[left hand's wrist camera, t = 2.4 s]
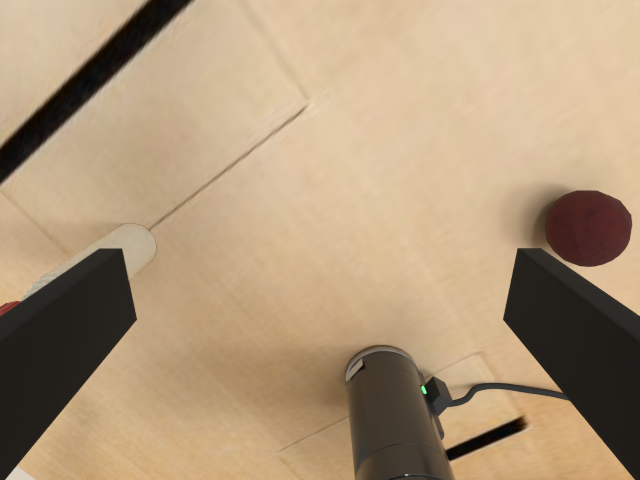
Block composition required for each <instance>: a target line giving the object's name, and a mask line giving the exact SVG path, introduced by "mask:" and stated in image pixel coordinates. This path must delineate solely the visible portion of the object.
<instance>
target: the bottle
mask: <svg viewBox="0 0 640 480" xmlns="http://www.w3.org/2000/svg"><path fill="white" fill-rule="evenodd" d="M99 248H122V249H123V254H124V259H125V264H126V269H127V274H128V278H129V280H130V279H131V278H132V277H133V276H134V275H135V274H137V273H138V272H139V271H140V270H141V269H142V268H143V267H144V266H145V265H146V264H147V263H148V262H149V261H150V260H151V259H152V258H153V257H154V255H155V253H156V242H155V239H154V237H153V235H152V234H151V233H150V232H149V231H148V230H147V229H146V228H144V227H142V226H140V225H137V224H130V223H129V224H124V225H121V226H119V227H118V228H116V229H115V230H113V231H111V232H110V233H108V234H107V235H105V236H104V237H102V238H101V239H99V240H98V241H96V242H94V243H93V244H91V245H90V246H88V247H87V248H85V249H84V250H82V251H80V252H79V253H77V254H76V255H74V256H73V257H71V258H70V259H68V260H66V261H65V262H63V263H62V264H60V265H59V266H57V267H56V268H54V269H53V270H51V271H49V272H48V273H46V274H45V275H43V276H42V277H41V278H40V279H39V280H38V281H36V282H35V283H34V284H33V285H32V287H31V288H30V289H29V290H28V291H27V293H26V294H25V295H24V296H23V297H22V299H21V301H23V300H25V299H26V298H27V297H29V296H30V295H32V294H33V293H35V292H36V291H38V290H39V289H41V288H42V287H44V286H45V285H46V284H48V283H49V282H51V281H52V280H54V279H55V278H57V277H58V276H60V275H61V274H62V273H64V272H65V271H67V270H68V269H70V268H71V267H73V266H74V265H76V264H77V263H79V262H80V261H81V260H83V259H84V258H86V257H87V256H89V255H90V254H92V253H93V252H95V251H96V250H98V249H99Z"/></svg>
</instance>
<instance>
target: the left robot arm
mask: <svg viewBox="0 0 640 480" xmlns="http://www.w3.org/2000/svg"><path fill="white" fill-rule="evenodd" d="M136 320H137V317H136V313H135V308H134V303H133V298H132V293H131V288H130V283H129V278H128V274H127V269H126V264H125V259H124V254H123V249H122V248H99V249H98V250H96V251H95V252H93V253H92V254H90V255H89V256H87V257H86V258H84V259H83V260H81V261H80V262H79V263H77V264H76V265H74V266H73V267H71V268H70V269H68V270H67V271H65V272H64V273H62V274H61V275H60V276H58V277H57V278H55V279H54V280H52V281H51V282H49V283H48V284H46V285H45V286H44V287H42V288H41V289H39V290H38V291H36V292H35V293H33V294H32V295H30V296H29V297H27V298H26V299H25V300H23V301H22V302H20V303H19V304H17V305H16V306H14V307H13V308H11V309H10V310H8V311H7V312H6V313H4V314H3V315H1V316H0V480H5V479H6V478H7V477H8V476H9V474H10V473H11V472H12V471H13V469H14V468H15V467H16V466H17V465H18V463H19V462H20V461H21V460H22V459H23V457H24V456H25V455H26V454H27V452H28V451H29V450H30V449H31V448H32V446H33V445H34V444H35V443H36V442H37V440H38V439H39V438H40V437H41V435H42V434H43V433H44V432H45V431H46V429H47V428H48V427H49V426H50V425H51V423H52V422H53V421H54V420H55V418H56V417H57V416H58V415H59V414H60V412H61V411H62V410H63V409H64V408H65V406H66V405H67V404H68V403H69V401H70V400H71V399H72V398H73V397H74V395H75V394H76V393H77V392H78V391H79V389H80V388H81V387H82V386H83V384H84V383H85V382H86V381H87V380H88V378H89V377H90V376H91V375H92V373H93V372H94V371H95V370H96V369H97V367H98V366H99V365H100V364H101V363H102V361H103V360H104V359H105V358H106V356H107V355H108V354H109V353H110V352H111V350H112V349H113V348H114V347H115V346H116V344H117V343H118V342H119V341H120V339H121V338H122V337H123V336H124V335H125V333H126V332H127V331H128V330H129V329H130V327H131V326H132V325H133V324H134V322H135V321H136ZM503 320H504V321H505V322H506V324H507V325H508V326H509V327H510V329H511V330H512V331H513V332H514V333H515V335H516V336H517V337H518V338H519V339H520V341H521V342H522V343H523V344H524V346H525V347H526V348H527V349H528V350H529V352H530V353H531V354H532V355H533V356H534V358H535V359H536V360H537V361H538V363H539V364H540V365H541V366H542V367H543V369H544V370H545V371H546V372H547V373H548V375H549V376H550V377H551V378H552V380H553V381H554V382H555V383H556V384H557V386H558V387H559V388H560V389H561V391H562V392H563V393H564V394H565V395H566V397H567V398H568V399H569V400H570V401H571V403H572V404H573V405H574V406H575V408H576V409H577V410H578V411H579V412H580V414H581V415H582V416H583V417H584V418H585V420H586V421H587V422H588V423H589V425H590V426H591V427H592V428H593V429H594V431H595V432H596V433H597V434H598V435H599V437H600V438H601V439H602V440H603V442H604V443H605V444H606V445H607V446H608V448H609V449H610V450H611V451H612V452H613V454H614V455H615V456H616V457H617V459H618V460H619V461H620V462H621V463H622V465H623V466H624V467H625V468H626V469H627V471H628V472H629V473H630V474H631V476H632V477H633V478H634V479H635V480H640V316H639V315H637V314H636V313H634V312H633V311H632V310H630V309H629V308H627V307H626V306H624V305H623V304H621V303H620V302H618V301H617V300H615V299H614V298H613V297H611V296H610V295H608V294H607V293H605V292H604V291H602V290H601V289H599V288H598V287H596V286H595V285H594V284H592V283H591V282H589V281H588V280H586V279H585V278H583V277H582V276H580V275H579V274H578V273H576V272H575V271H573V270H572V269H570V268H569V267H567V266H566V265H564V264H563V263H561V262H560V261H559V260H557V259H556V258H554V257H553V256H551V255H550V254H548V253H547V252H545V251H544V250H542V249H541V248H518V249H517V254H516V259H515V264H514V269H513V274H512V278H511V283H510V288H509V293H508V298H507V303H506V308H505V313H504V317H503Z"/></svg>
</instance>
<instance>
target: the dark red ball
mask: <svg viewBox="0 0 640 480" xmlns="http://www.w3.org/2000/svg"><path fill="white" fill-rule="evenodd" d="M631 229H632V219H631V214H630V213H629V212H628V210H627V209H626V208H625V206H624V205H623V204H622V203H621V201H620V200H617V199H615V198H613V197H611V196H609V195H606V194H604V193H601V192H599V191H574V192H571V193H569V194H566V195H564V196H562V197H561V198H560V199H559V200H557V201H556V202H555V203H554V205H553V206H552V208H551V209H550V211H549V214H548V218H547V221H546V225H545V230H546V239H547V241H548V243H549V245H550V246H551V248H552V249H553V251H554V252H556V253H557V254H558V255H559V256H560V257H561V258H562V259H564V260H565V261H568V262H570V263H573V264H576V265H579V266H585V267H594V266H598V265H603V264H605V263H608V262H610V261H612V260H613V259H615V258H616V257H618V256H619V255H620V254H621V253H622V252H623V251H624V250H625V248H626V247H627V245H628V243H629V240H630V235H631Z"/></svg>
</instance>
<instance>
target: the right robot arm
mask: <svg viewBox="0 0 640 480" xmlns="http://www.w3.org/2000/svg"><path fill="white" fill-rule="evenodd" d="M345 382H346V388H347V396H348V408H349V418H350V429H351V440H352V451H353V462H354V472H355V480H456V479H455V477H454V474H453V471H452V468H451V466H450V463H449V460H448V457H447V454H446V452H445V449H444V446H443V443H442V439H443V438H444V431H443V428H442V426H441V423H440V420H439V418H438V416H439V415H440V414H441V413H442V412H443V411H444V410H445V409H446V408H447V407H453V406H458V405H462V404H464V403H466V402H468V401H469V400H470V399H471V398H472V397H473V396H474V394H475V393H476V392H478V391H481V390H486V389H506V390H513V391H519V392H525V393H531V394H539V395H545V396H551V397H556V398H560V399H565V400H569V399H568V398H567V397H566V395H565V394H564V393H559V392H555V391H550V390H544V389H537V388H530V387H523V386H517V385H511V384H504V383H486V384H480V385H476V386H474V387H472V388H471V389H470V390H469V392H468V393H467V394H466V395H465V396H464V397H462V398H460V399H457V400H452V398H451V396H450V393H449V391H448V389H447V386H446V384H445V382H443V381H441V380H439V379H437V378H435V377H434V376H433V377H432V378H431V379H430V380H429V381H428V382H427V383H426V382H425V380H424V377H423V374H421V373H420V372H418V370H417V367H416V364H415V362H414V361H413V359H412V358H411V357H410V356H409V355H408V354H407V353H406V352H404V351H402V350H400V349H398V348H395V347H390V346H376V347H371V348H368V349H366V350H364V351H362V352H360V353H358V354H357V355H356V356H355V357H354V358H353V359H352V360H351V361H350V363H349V364H348V366H347V369H346V372H345ZM569 401H570V400H569Z"/></svg>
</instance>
